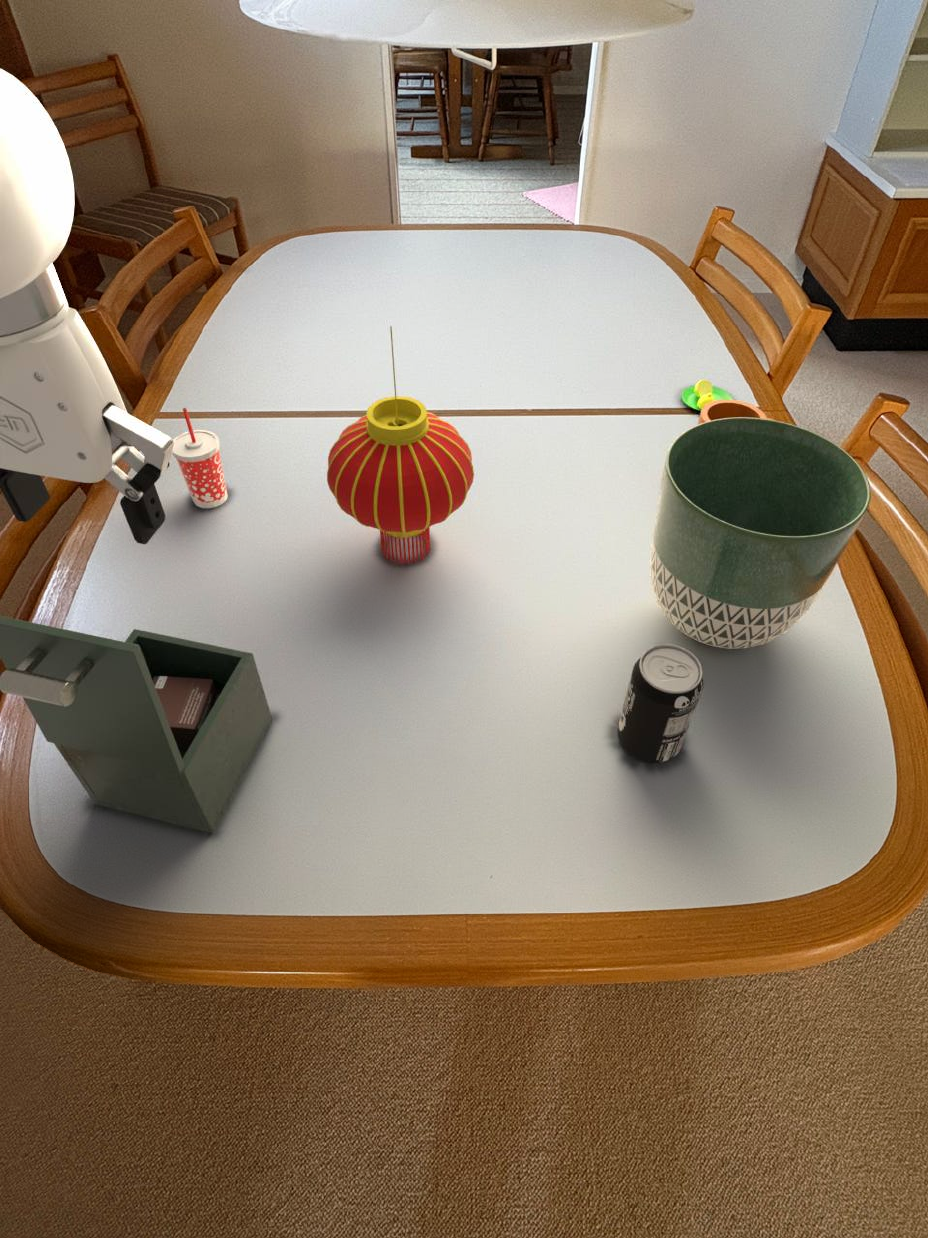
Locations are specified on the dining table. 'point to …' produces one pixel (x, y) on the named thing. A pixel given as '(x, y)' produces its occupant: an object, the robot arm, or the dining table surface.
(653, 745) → the beverage can
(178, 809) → the green open box
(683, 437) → the planter
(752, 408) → the mug
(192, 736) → the box
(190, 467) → the beverage cup
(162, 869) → the dining table surface
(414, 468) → the lantern
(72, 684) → the bin lid
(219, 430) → the dining table surface
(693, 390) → the green dish
